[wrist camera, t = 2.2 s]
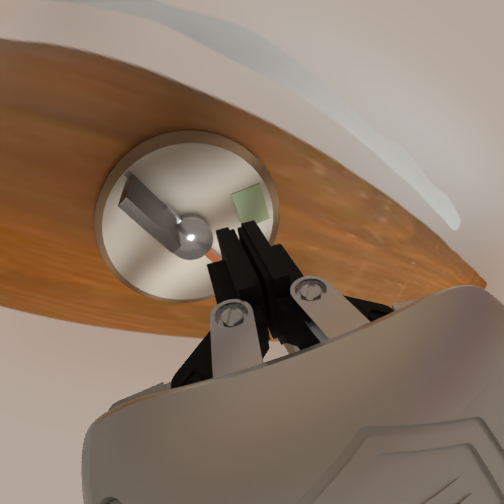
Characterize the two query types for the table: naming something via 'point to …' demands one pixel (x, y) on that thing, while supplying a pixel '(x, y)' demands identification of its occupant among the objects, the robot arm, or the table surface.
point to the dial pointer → (167, 223)
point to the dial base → (182, 209)
